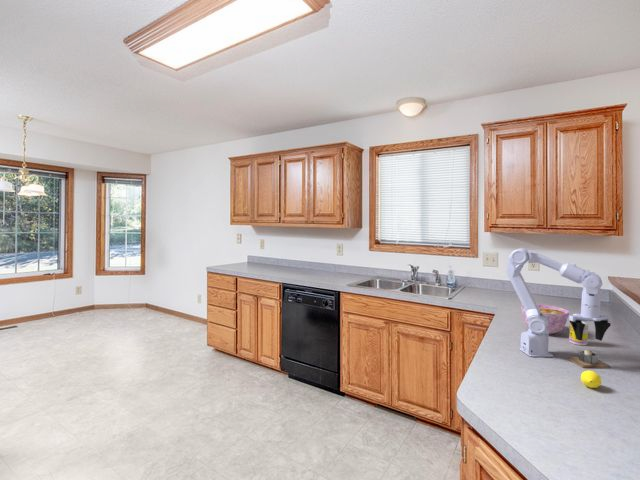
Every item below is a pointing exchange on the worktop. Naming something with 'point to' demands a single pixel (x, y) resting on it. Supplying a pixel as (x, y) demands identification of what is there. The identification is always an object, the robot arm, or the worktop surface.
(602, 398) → the worktop surface
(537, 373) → the worktop surface
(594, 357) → the collar ring
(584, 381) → the lemon
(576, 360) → the post board
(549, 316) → the bowl of food
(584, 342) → the supplement bottle
